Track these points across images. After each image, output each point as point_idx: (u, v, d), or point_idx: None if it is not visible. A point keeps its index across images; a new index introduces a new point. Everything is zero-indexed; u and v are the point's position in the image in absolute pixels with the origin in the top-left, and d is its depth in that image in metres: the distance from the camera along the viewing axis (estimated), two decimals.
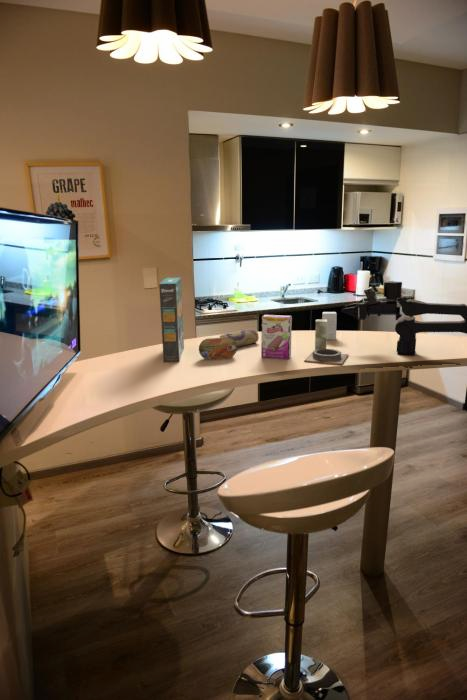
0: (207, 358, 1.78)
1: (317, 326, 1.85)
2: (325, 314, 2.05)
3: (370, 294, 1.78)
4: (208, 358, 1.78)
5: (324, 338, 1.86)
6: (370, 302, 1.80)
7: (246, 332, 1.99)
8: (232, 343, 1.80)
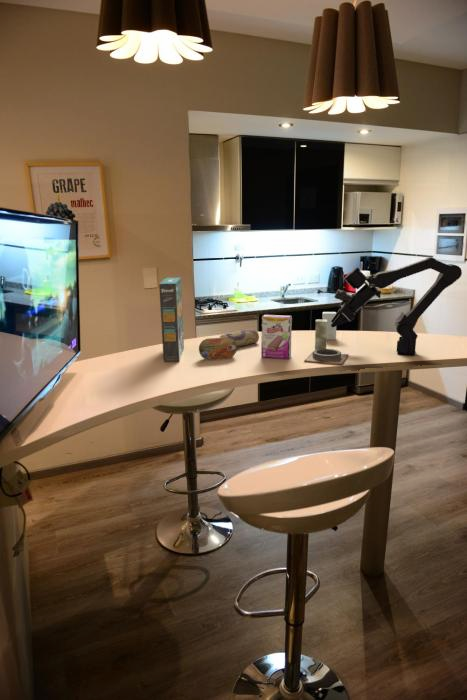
0: (207, 358, 1.78)
1: (317, 326, 1.85)
2: (325, 314, 2.05)
3: (342, 295, 1.78)
4: (208, 358, 1.78)
5: (324, 338, 1.86)
6: (347, 301, 1.80)
7: (246, 332, 1.99)
8: (232, 343, 1.80)
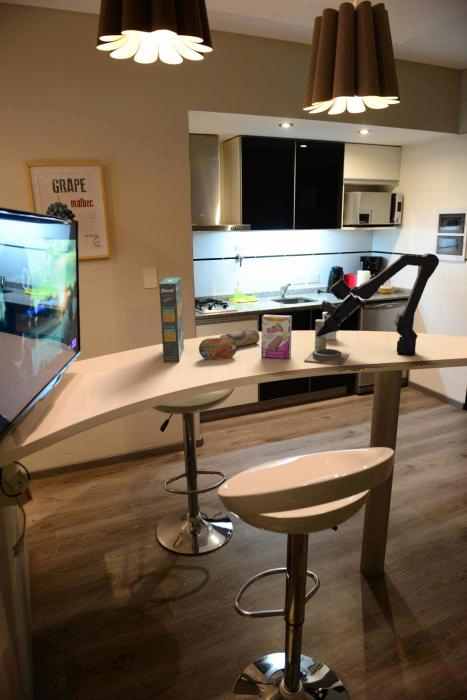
0: (207, 358, 1.78)
1: (317, 326, 1.85)
2: (325, 314, 2.05)
3: (327, 306, 1.80)
4: (208, 358, 1.78)
5: (324, 338, 1.86)
6: (332, 312, 1.82)
7: (246, 332, 1.99)
8: (232, 343, 1.80)
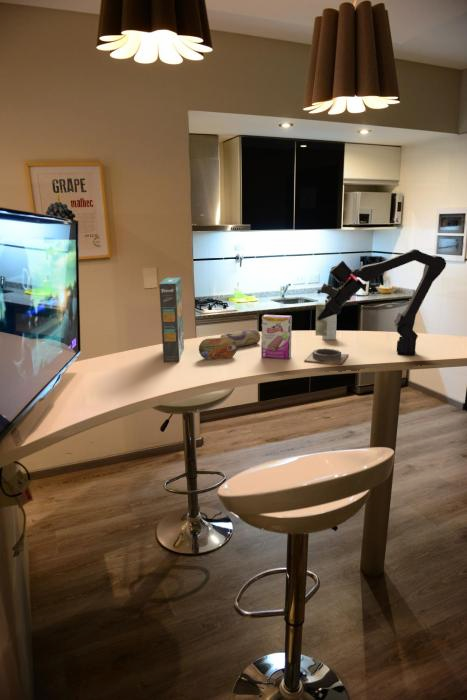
0: (207, 358, 1.78)
1: (318, 309, 1.83)
2: None
3: (328, 289, 1.78)
4: (208, 358, 1.78)
5: (325, 322, 1.83)
6: (333, 295, 1.79)
7: (247, 332, 1.98)
8: (232, 343, 1.80)
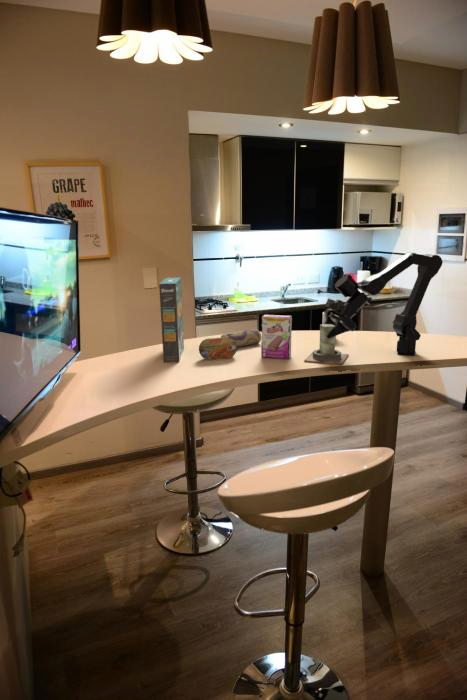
0: (207, 358, 1.78)
1: (326, 332, 1.72)
2: None
3: (338, 305, 1.68)
4: (208, 358, 1.78)
5: (333, 344, 1.74)
6: (342, 310, 1.70)
7: (248, 332, 1.98)
8: (232, 343, 1.80)
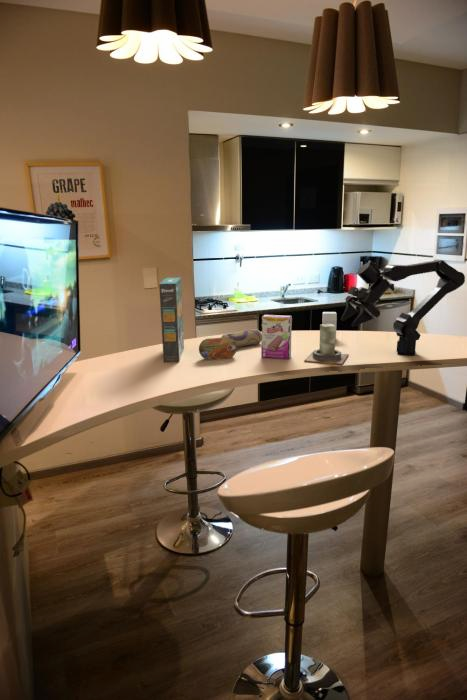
0: (207, 358, 1.78)
1: (326, 332, 1.72)
2: (325, 314, 2.05)
3: (362, 292, 1.69)
4: (208, 358, 1.78)
5: (333, 344, 1.74)
6: (365, 298, 1.71)
7: (249, 332, 1.98)
8: (232, 343, 1.80)
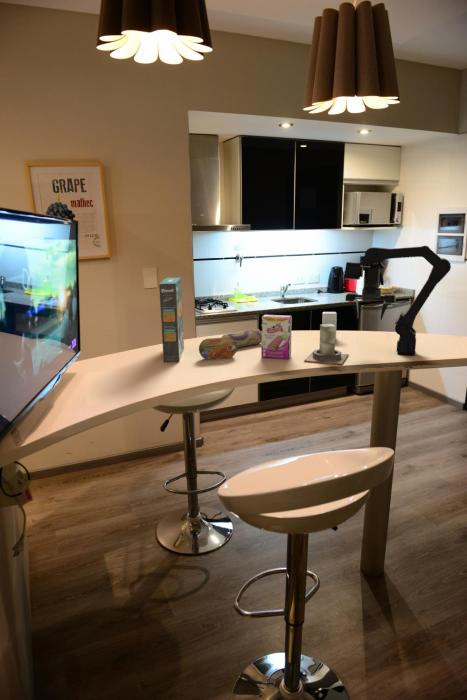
0: (207, 358, 1.78)
1: (326, 332, 1.72)
2: (325, 314, 2.05)
3: (380, 293, 1.75)
4: (208, 358, 1.78)
5: (333, 344, 1.74)
6: None
7: (249, 332, 1.98)
8: (232, 343, 1.80)
